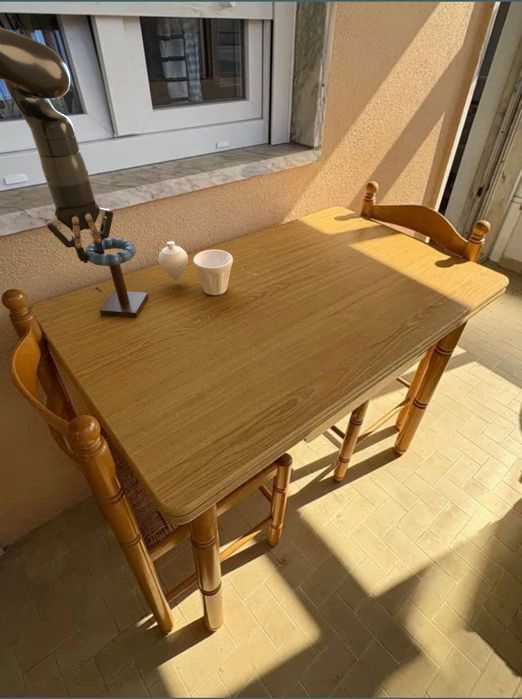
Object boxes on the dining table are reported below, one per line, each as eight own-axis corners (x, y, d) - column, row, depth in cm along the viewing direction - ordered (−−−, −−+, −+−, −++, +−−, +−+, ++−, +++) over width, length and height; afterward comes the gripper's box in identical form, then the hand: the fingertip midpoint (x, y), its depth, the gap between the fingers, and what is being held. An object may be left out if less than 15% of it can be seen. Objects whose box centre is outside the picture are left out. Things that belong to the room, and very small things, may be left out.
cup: (190, 296, 99) (186, 264, 93) (205, 277, 106) (202, 247, 100) (226, 303, 97) (224, 270, 91) (239, 283, 104) (238, 252, 98)
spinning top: (182, 273, 108) (176, 233, 100) (196, 284, 103) (191, 243, 96) (157, 282, 104) (149, 241, 96) (171, 294, 100) (164, 252, 92)
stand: (100, 315, 92) (84, 265, 84) (115, 295, 99) (101, 247, 90) (136, 317, 92) (124, 267, 83) (148, 297, 99) (138, 249, 90)
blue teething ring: (77, 265, 83) (74, 255, 81) (99, 244, 91) (96, 234, 89) (125, 269, 82) (123, 259, 80) (143, 247, 90) (141, 238, 89)
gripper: (97, 167, 78) (117, 245, 90) (23, 179, 72) (55, 261, 84) (110, 176, 74) (129, 257, 85) (32, 190, 68) (64, 275, 79)
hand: (92, 259), depth 84 cm, fingers closed on blue teething ring, 2 cm apart
